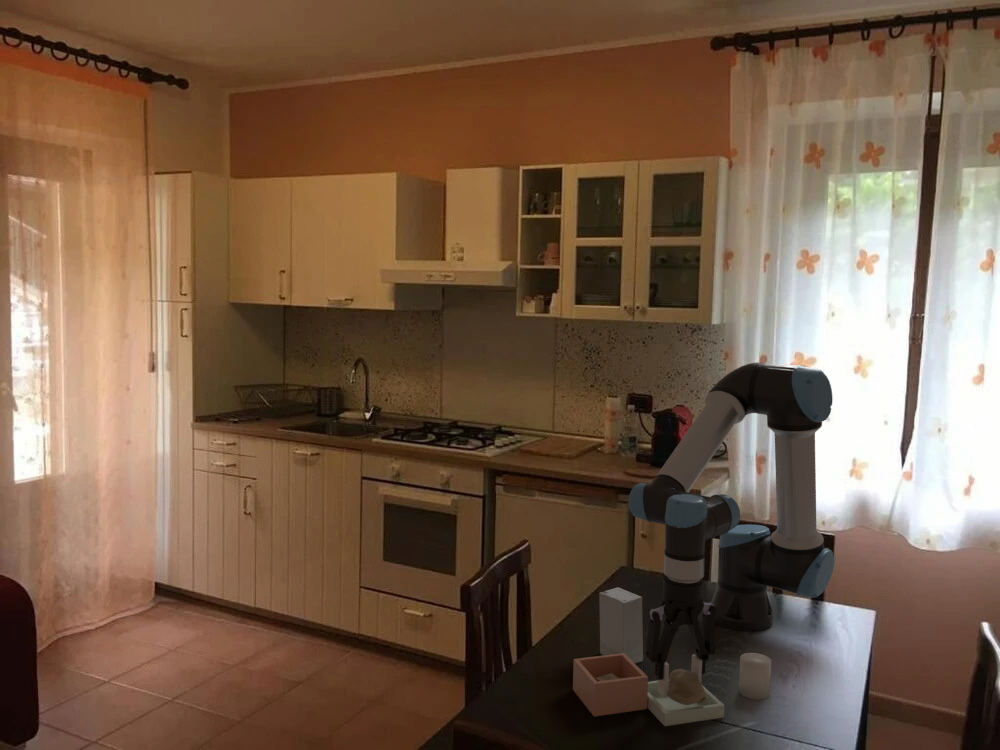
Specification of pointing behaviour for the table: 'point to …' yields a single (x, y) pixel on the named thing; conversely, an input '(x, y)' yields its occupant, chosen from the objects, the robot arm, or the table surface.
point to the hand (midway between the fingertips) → (679, 691)
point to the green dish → (682, 707)
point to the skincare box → (621, 624)
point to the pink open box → (610, 684)
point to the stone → (685, 687)
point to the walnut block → (606, 677)
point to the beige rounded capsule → (754, 676)
